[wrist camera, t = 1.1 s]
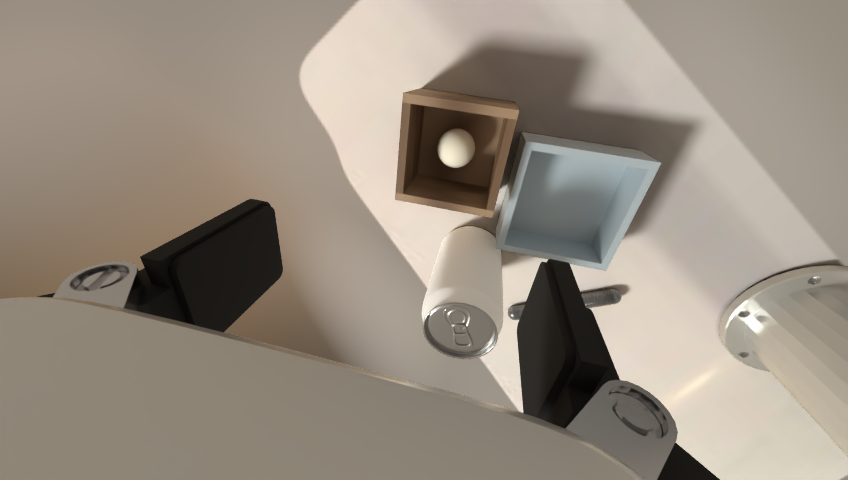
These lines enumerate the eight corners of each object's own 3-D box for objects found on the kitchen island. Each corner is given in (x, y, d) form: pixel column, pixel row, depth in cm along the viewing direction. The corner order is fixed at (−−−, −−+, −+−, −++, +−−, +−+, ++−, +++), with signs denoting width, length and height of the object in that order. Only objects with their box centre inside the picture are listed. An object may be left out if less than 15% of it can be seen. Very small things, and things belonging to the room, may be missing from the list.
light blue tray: (639, 150, 25) (661, 162, 22) (593, 248, 30) (605, 271, 27) (521, 131, 26) (525, 141, 23) (495, 229, 31) (495, 248, 28)
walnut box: (514, 102, 26) (519, 110, 20) (492, 192, 30) (492, 217, 24) (420, 88, 26) (403, 92, 21) (411, 177, 30) (395, 199, 25)
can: (497, 220, 31) (498, 295, 21) (504, 273, 34) (508, 363, 23) (435, 228, 33) (407, 301, 22) (446, 277, 35) (427, 363, 25)
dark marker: (617, 283, 32) (622, 293, 30) (619, 295, 32) (625, 305, 31) (505, 304, 36) (506, 313, 34) (509, 314, 36) (510, 324, 35)
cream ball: (479, 128, 26) (477, 135, 24) (472, 164, 28) (469, 175, 25) (443, 122, 27) (437, 129, 24) (438, 159, 28) (432, 168, 26)
